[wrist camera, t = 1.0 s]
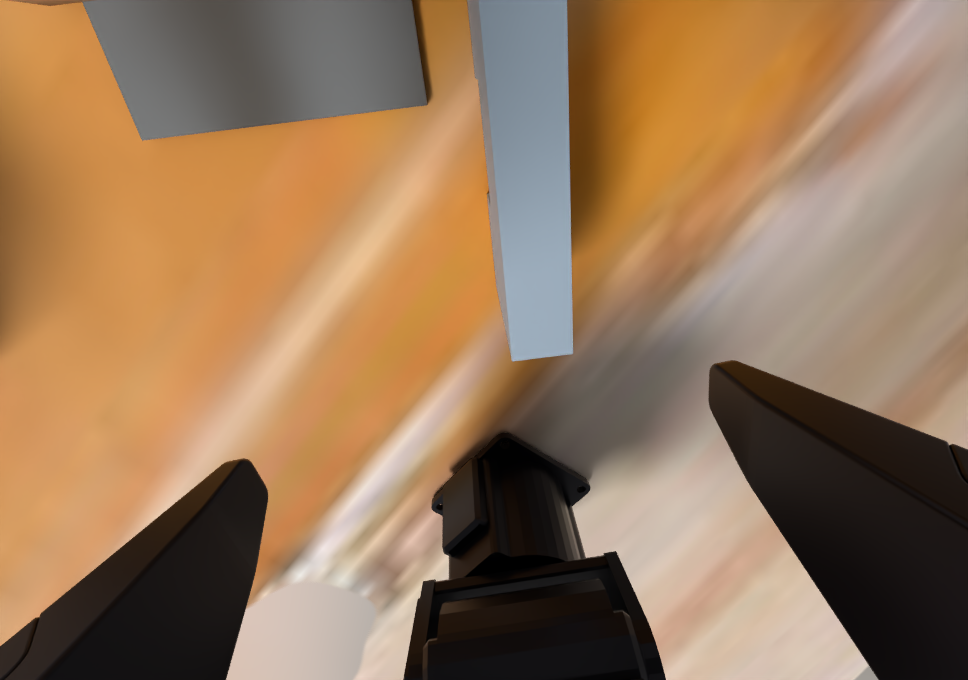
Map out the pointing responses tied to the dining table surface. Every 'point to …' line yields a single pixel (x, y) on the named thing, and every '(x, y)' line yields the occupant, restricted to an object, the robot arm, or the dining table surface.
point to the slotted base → (256, 60)
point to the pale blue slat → (527, 166)
